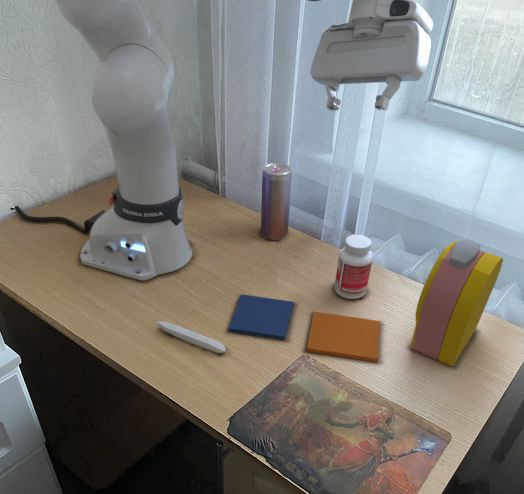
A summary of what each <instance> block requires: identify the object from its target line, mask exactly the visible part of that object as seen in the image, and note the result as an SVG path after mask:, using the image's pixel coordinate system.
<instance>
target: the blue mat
mask: <svg viewBox="0 0 524 494" xmlns="http://www.w3.org/2000/svg"><path fill="white" fill-rule="evenodd" d="M294 305H295V301H291V300H283V299H277V298H269V297H263V296H256V295H249V294H240V297H239V300H238V301H237V305H236V308H235V310H234V314H233V316H232V319H231V321H230V324H229V325H228V326H229V327H228V332H231V333H238V334H242V335H243V334H244V335H250V336H255V337H256V336H257V337H264V338H269V339H276V340H282V341H283V340H286V337H287V334H288V329H289V325H290V321H291V317H292V312H293V309H294Z"/></svg>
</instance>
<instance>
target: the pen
mask: <svg viewBox="0 0 524 494" xmlns="http://www.w3.org/2000/svg"><path fill="white" fill-rule="evenodd" d="M155 323H156V324H157V326H158V327H159V328H160V329H162V331H164V332H165V333H168V334H170V335H171V336H174V337H175V338H178V339H179V340H181V341H184V342H186V343H189V344H192V345H195V346H197V347H200V348H202V349H205V350H207V351H210V352H212V353H215V354H224V353H226V351H227V350H226V349H227V348H226V347H225V345H224V343H221V342H220V341H218V340H217V339H216V340H215V339H213V338H210V337H208V336H205V335H203V334H200V333H197V332H195V331H192V330H190V329H187V328H184V327H181V326H179V325H177V324H173V323H171V322H168V321H155Z"/></svg>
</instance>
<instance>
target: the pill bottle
mask: <svg viewBox="0 0 524 494" xmlns="http://www.w3.org/2000/svg"><path fill="white" fill-rule="evenodd" d="M371 249H372V240H371V239H370V238H369V237H367V236H366V235H362V234H351V235H348V236H347V237H346V238H345V241H344V247H342V248H341V249H340V251H339V252H338V259H337V266H336V274H335V280H334V291H335V292H336V294H337V295H339V296H340V297H342V298H345V299H348V300H357V299H359V298H362V297H364V296H365V295H366V293H367V290H368V285H369V280H370V274H371V268H372V264H373V259H374V257H373V255H374V254H373V253H372V251H371Z"/></svg>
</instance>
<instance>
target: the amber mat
mask: <svg viewBox="0 0 524 494" xmlns="http://www.w3.org/2000/svg"><path fill="white" fill-rule="evenodd" d="M312 314H313V315H312V319H311V323H310V324H311V325H310V328H309V329H310V330H309V333H308V340H307V345H306V349H305V350H306V352H308V353H315V354H322V355H328V356H329V355H330V356H334V357H341V358H349V359H354V360H361V361H367V362H375V363H378V361H379V354H380V353H379V352H380V351H379V350H380V334H381V321H380V320H376V319H368V318H360V317H353V316H347V315H341V314H340V315H339V314H334V313H326V312H319V311H313V313H312Z"/></svg>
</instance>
